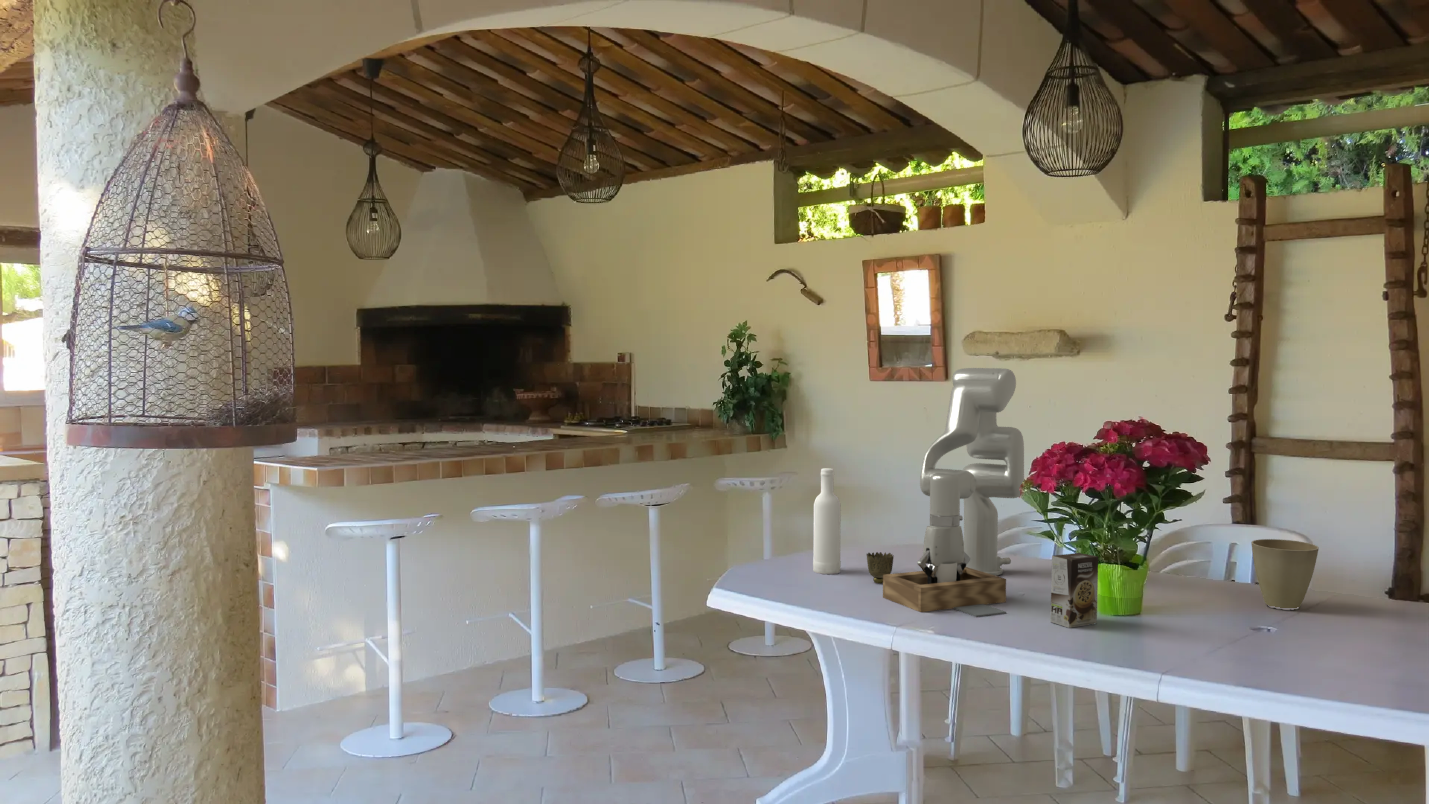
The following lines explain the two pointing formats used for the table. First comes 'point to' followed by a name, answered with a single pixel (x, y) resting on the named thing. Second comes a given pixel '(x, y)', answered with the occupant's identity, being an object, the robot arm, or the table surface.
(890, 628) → the table surface
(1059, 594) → the coffee box
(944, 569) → the white tumbler
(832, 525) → the bottle
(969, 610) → the coaster
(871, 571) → the cup
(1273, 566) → the plant pot
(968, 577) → the crate
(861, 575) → the table surface
